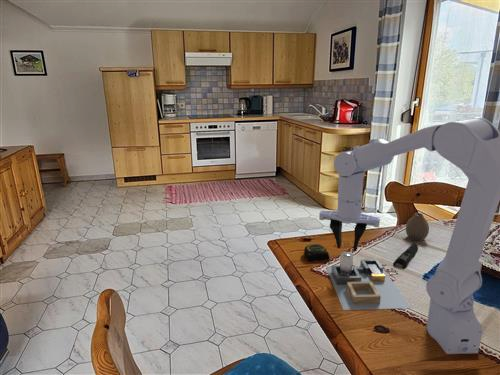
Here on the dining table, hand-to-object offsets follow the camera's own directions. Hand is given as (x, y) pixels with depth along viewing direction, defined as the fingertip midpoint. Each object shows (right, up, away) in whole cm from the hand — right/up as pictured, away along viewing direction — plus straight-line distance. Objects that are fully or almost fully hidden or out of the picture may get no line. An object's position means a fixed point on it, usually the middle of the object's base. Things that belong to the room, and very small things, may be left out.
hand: (347, 248), depth 85 cm
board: (+4, -10, -1) cm, 11 cm away
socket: (+4, -8, +4) cm, 10 cm away
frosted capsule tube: (0, -8, +3) cm, 9 cm away
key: (+8, -8, +4) cm, 12 cm away
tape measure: (-5, -7, +14) cm, 17 cm away
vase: (+31, -2, +25) cm, 40 cm away
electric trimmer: (+21, -6, +12) cm, 25 cm away
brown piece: (+2, -11, -5) cm, 12 cm away
